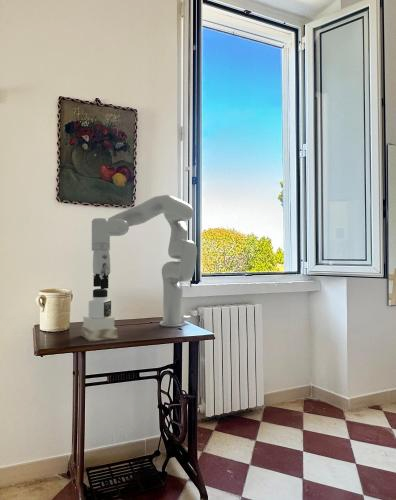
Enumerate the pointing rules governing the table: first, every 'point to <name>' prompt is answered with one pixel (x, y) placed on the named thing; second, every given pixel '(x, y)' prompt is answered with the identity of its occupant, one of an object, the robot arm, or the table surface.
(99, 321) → the tower top block
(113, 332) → the tower base block
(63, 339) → the table surface
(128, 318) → the table surface
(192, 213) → the robot arm
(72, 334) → the table surface
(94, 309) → the medicine bottle
